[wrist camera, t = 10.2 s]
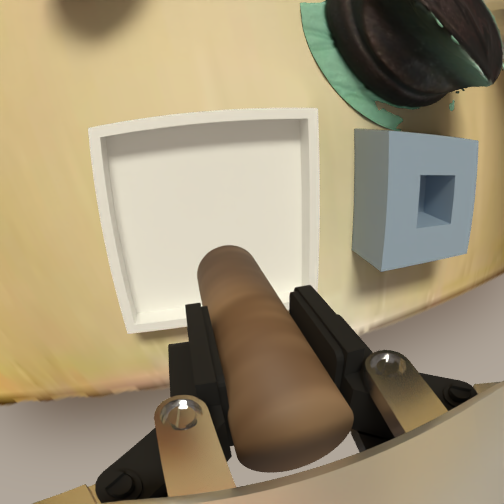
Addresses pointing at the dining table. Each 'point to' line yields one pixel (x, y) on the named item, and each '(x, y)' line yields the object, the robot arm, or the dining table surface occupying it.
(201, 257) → the tray
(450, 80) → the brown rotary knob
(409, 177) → the holder
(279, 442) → the pin
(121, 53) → the dining table surface
